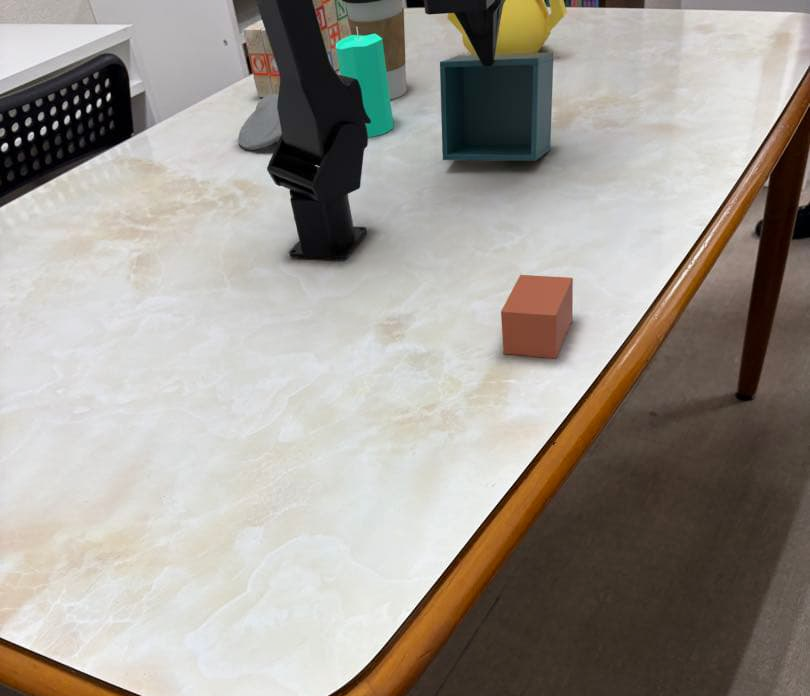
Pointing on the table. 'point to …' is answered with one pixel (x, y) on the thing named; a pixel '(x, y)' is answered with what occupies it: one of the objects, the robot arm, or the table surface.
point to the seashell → (262, 125)
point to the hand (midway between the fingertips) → (488, 65)
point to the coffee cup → (383, 35)
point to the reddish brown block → (537, 316)
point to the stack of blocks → (261, 55)
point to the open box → (496, 107)
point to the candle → (368, 78)
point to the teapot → (521, 26)
